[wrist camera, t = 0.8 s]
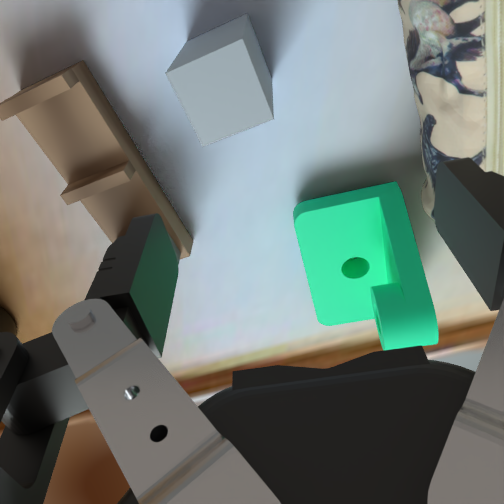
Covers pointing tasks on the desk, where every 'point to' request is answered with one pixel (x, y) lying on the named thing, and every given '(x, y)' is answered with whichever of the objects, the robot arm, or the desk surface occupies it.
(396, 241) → the camera mount
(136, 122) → the desk surface
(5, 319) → the ink bottle
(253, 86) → the finger block
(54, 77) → the rail
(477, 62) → the pencil case
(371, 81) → the desk surface
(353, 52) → the desk surface
